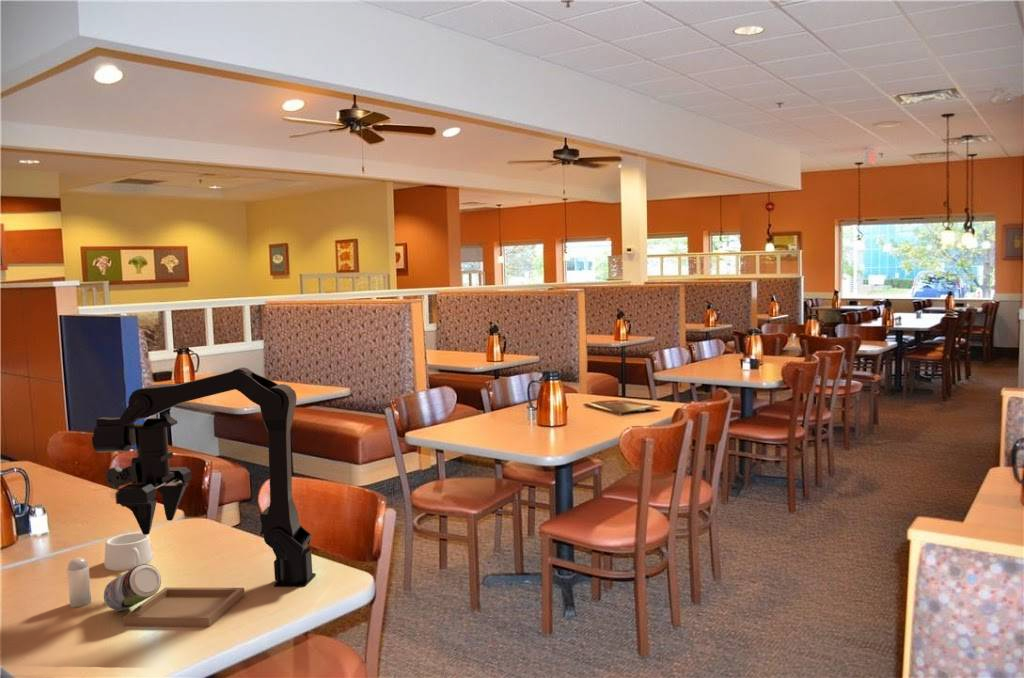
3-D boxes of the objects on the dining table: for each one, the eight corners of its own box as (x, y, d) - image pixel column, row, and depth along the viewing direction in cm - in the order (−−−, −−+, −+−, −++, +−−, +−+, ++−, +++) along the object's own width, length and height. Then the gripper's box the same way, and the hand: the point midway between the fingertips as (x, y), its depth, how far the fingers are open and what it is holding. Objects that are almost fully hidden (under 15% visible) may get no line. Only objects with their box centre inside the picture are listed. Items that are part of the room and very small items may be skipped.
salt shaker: (95, 599, 156) (92, 554, 156) (83, 607, 153) (80, 561, 152) (78, 599, 157) (74, 554, 156) (65, 606, 153) (62, 561, 152)
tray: (244, 595, 155) (244, 587, 155) (209, 626, 141) (208, 617, 141) (165, 595, 157) (165, 587, 157) (123, 625, 143) (123, 617, 143)
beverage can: (127, 584, 141) (86, 599, 147) (159, 607, 145) (117, 620, 150) (145, 554, 146) (104, 569, 151) (175, 577, 150) (134, 591, 155)
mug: (99, 566, 176) (97, 539, 176) (145, 555, 183) (144, 529, 182) (114, 579, 167) (112, 551, 167) (163, 567, 173) (161, 540, 173)
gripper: (138, 441, 169) (144, 514, 170) (85, 461, 151) (91, 543, 152) (189, 440, 168) (195, 513, 169) (142, 459, 150) (148, 541, 151)
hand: (158, 527), depth 160 cm, fingers open, 9 cm apart
